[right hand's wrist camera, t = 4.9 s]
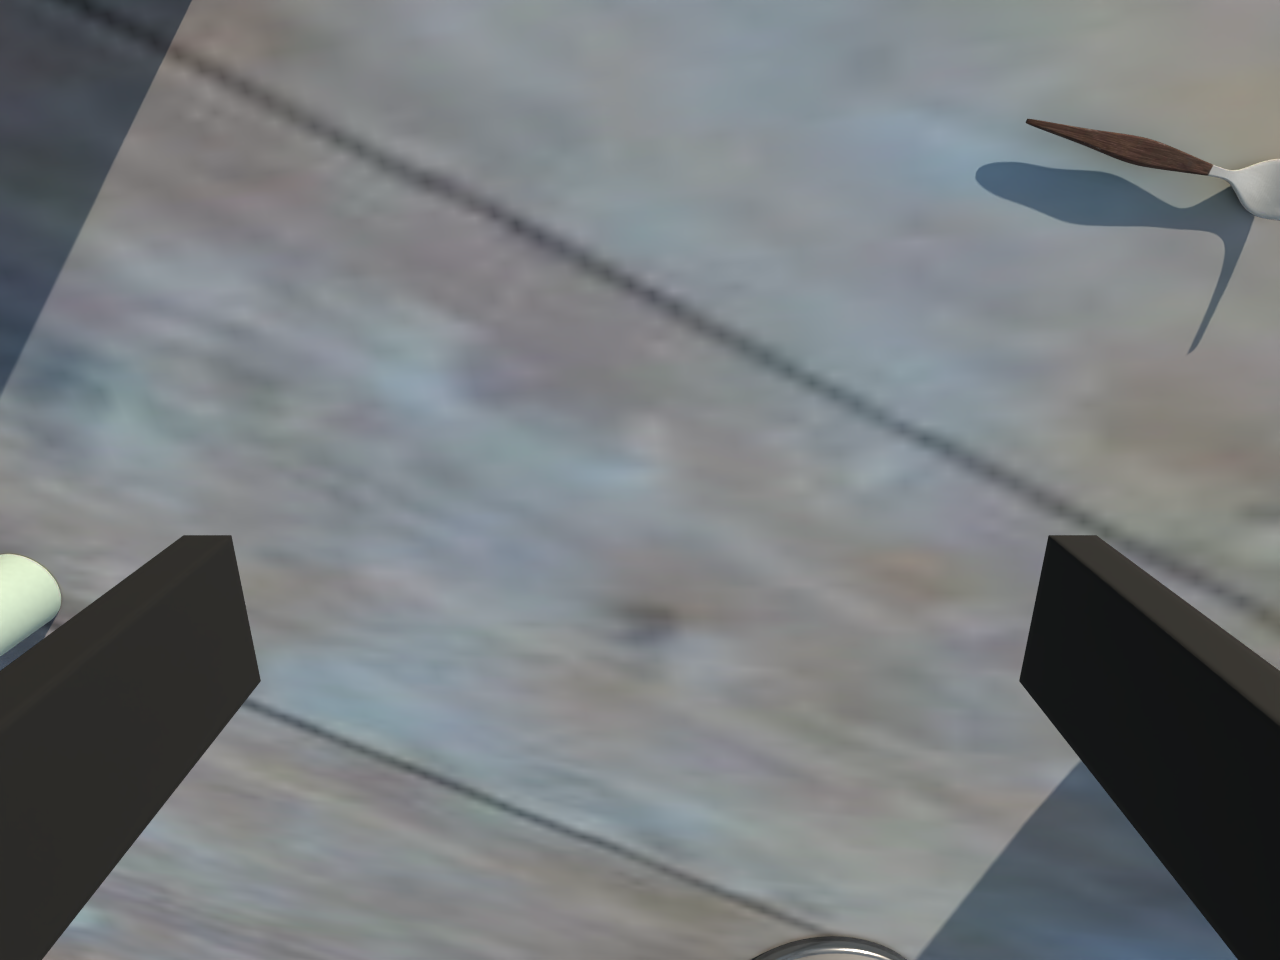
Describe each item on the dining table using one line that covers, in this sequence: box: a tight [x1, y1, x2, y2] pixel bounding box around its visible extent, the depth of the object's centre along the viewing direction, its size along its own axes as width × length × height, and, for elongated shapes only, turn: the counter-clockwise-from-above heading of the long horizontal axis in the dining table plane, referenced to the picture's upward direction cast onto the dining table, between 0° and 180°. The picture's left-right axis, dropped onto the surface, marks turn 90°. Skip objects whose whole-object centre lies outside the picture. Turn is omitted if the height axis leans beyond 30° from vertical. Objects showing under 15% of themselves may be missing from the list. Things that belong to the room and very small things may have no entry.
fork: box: [1026, 119, 1280, 221], centre depth 35 cm, size 3×16×2 cm, turn 77°
